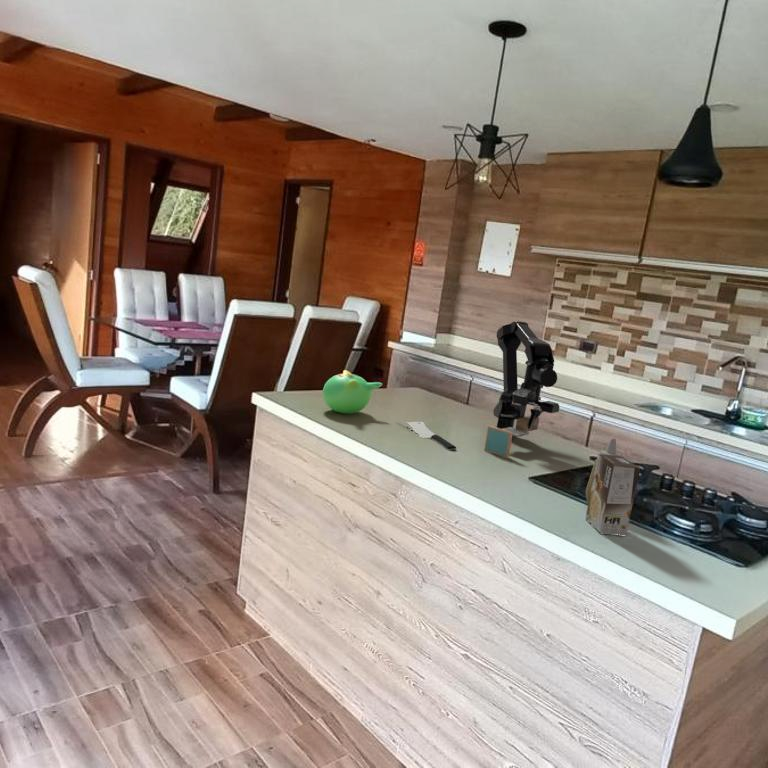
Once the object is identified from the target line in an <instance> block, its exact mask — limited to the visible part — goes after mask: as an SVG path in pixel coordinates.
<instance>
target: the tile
mask: <svg viewBox="0 0 768 768" xmlns="http://www.w3.org/2000/svg"><path fill="white" fill-rule="evenodd" d="M512 434H513V432H510V431H507V430H503V429H500V428H497V426H492V425H488V426H487V431H486V438H485V444H484V448H483V451H485V452H487V453H491V454H494V455H497V456H499V457H503V458H506V459H508V458H509V457H510V450H511V445H512V439H513V436H512Z"/></svg>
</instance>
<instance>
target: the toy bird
mask: <svg viewBox="0 0 768 768" xmlns="http://www.w3.org/2000/svg"><path fill="white" fill-rule="evenodd" d="M382 386H383V383H382V382H378V381H375V382H368V381H366V380H365V379H364V378H363V377H362V376H359V375H358V374H353V373H351V372H350V371H349V370H346V369H344V370H343V371H342V373H339V374H336V375H333V376H332V377H330V378H329V379H328V380H327V381H326V382H325V383H324V386H323V389H322V399H323V401H324V403H325V404H326V406H327V407H329V408H330V409H331V410H332V411H335V412H336V413H341V414H346V413H347V414H348V415H349V414H355V413H359V412H360V411H362V410H363V409H365V408H366V407H367V405H369V403H370V400H371V399H372V392H373V391H375V390H377V389H379V388H380V387H382Z"/></svg>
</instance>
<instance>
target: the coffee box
mask: <svg viewBox="0 0 768 768" xmlns="http://www.w3.org/2000/svg"><path fill="white" fill-rule="evenodd" d="M596 457H597V458H596V459H597V461H596V467H595V472H594V477H593V482H592V488H591V493H590V498H589V503H588V506H587V509H586V512H585V513H586V514H585V518H586V519H587V520H588V521H589V522H590V523H591V524H592V525H593V526H594V527H593V526H592V525H591V524H590V523H589V522H588V521H587V520H586V519H585V520H586V521H587V522H588V523H589V524H590V525H591V526H592V527H593V529H595V528H596V529H597V530H598V531H599V532H600V533H602V534H601V535H604V534H618V535H619V534H620V535H626V536H627V533H628V529H629V523H630V518H631V514H632V513H631V512H632V508H633V504H634V499H635V494H636V489H637V485H638V479H639V476H640V471H641V470H640V469H641V468H640V467H639V466H637V465H636V464H634V463H633V462H631V461H630V460H628V459H627V458H625V457H624V456H621V455H620V456H614V455H602V454H600V453H598V454H597V456H596ZM596 529H595V530H596ZM597 530H596V531H597ZM598 531H597V532H598ZM599 532H598V533H599ZM600 533H599V534H600Z"/></svg>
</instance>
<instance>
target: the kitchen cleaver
mask: <svg viewBox="0 0 768 768" xmlns="http://www.w3.org/2000/svg"><path fill="white" fill-rule="evenodd" d="M406 423H408V424H409V425H410V426H411V427H412V428H413V430H414V431H415V432H416V433H418V434H419V436H418V437H420V438H421V437H422V438H421V439H429V440H433V441H434V442H436V443H437V444H439V445H440V446H442V447H444V448H445V450H447V451H456V449H457V446H455V445H454V444H452V443H451V442H449V441H447V440H446V439H444V438H443V437H442V436H440V435H438V434H436V433H434V432H433V431H431V430H430V429H429V428H428V426H426V424H425V423H424V422H423V421H409V422H407V421H406Z"/></svg>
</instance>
